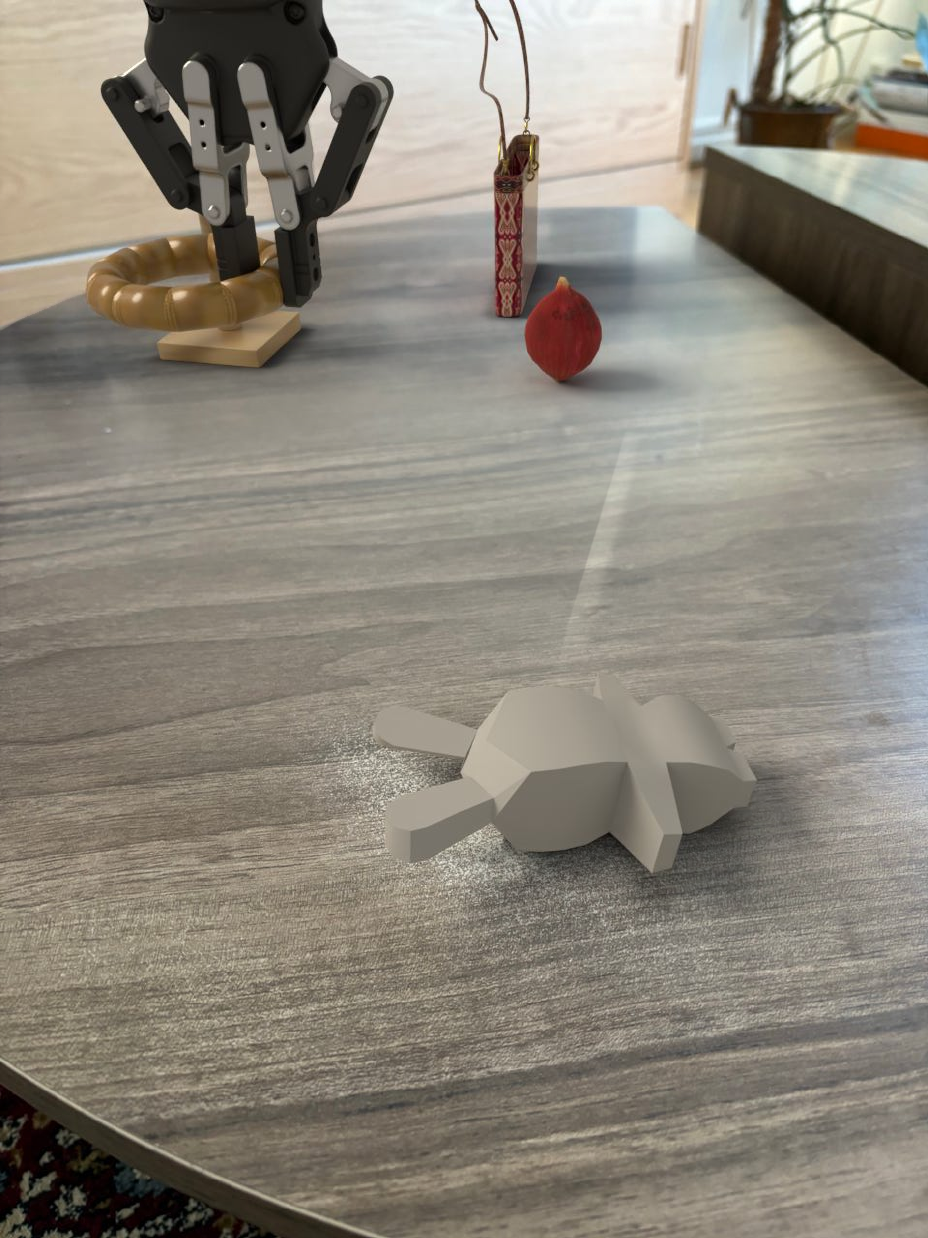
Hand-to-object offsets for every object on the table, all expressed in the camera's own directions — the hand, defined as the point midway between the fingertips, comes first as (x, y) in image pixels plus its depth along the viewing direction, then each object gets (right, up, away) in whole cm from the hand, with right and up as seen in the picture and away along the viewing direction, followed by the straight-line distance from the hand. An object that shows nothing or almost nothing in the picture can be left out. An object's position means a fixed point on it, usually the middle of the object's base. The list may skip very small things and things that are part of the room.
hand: (273, 298), depth 49 cm
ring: (-4, +1, 0) cm, 4 cm away
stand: (-10, +8, +36) cm, 39 cm away
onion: (+17, +3, +29) cm, 33 cm away
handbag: (+13, +17, +48) cm, 52 cm away
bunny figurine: (+14, -24, -7) cm, 29 cm away
